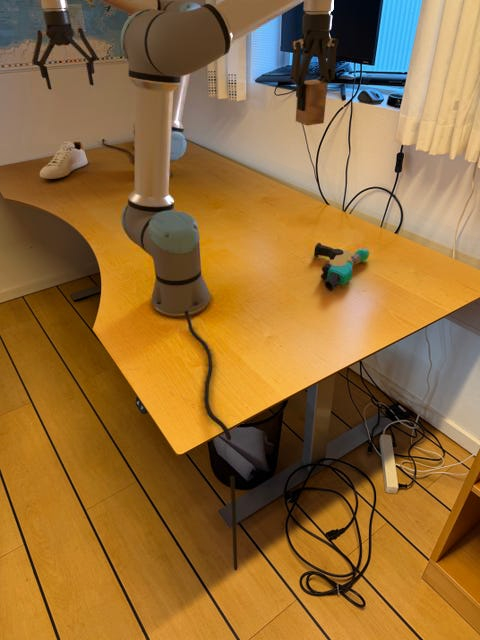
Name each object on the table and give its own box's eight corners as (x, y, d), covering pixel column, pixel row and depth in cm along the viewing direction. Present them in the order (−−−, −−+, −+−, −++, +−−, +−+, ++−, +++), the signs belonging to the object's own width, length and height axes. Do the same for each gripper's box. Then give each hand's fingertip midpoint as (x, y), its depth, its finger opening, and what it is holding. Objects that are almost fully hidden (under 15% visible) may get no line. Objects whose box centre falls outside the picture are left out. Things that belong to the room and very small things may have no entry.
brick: (312, 118, 142) (315, 79, 136) (323, 123, 138) (327, 82, 131) (295, 121, 140) (297, 81, 134) (306, 125, 136) (309, 84, 129)
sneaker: (33, 182, 200) (26, 152, 193) (72, 161, 222) (66, 134, 215) (55, 184, 198) (48, 154, 191) (91, 163, 220) (86, 135, 213)
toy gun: (291, 271, 128) (345, 285, 123) (324, 234, 147) (372, 245, 141) (290, 285, 131) (343, 299, 125) (322, 247, 150) (369, 258, 144)
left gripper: (93, 7, 151) (105, 81, 164) (10, 11, 142) (29, 88, 155) (99, 9, 146) (111, 84, 158) (13, 12, 137) (33, 92, 149)
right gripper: (338, 11, 129) (329, 102, 143) (278, 13, 122) (275, 109, 136) (355, 12, 124) (345, 107, 137) (294, 15, 117) (289, 114, 130)
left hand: (71, 86), depth 157 cm, fingers open, 13 cm apart
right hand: (310, 108), depth 137 cm, fingers closed on brick, 6 cm apart
